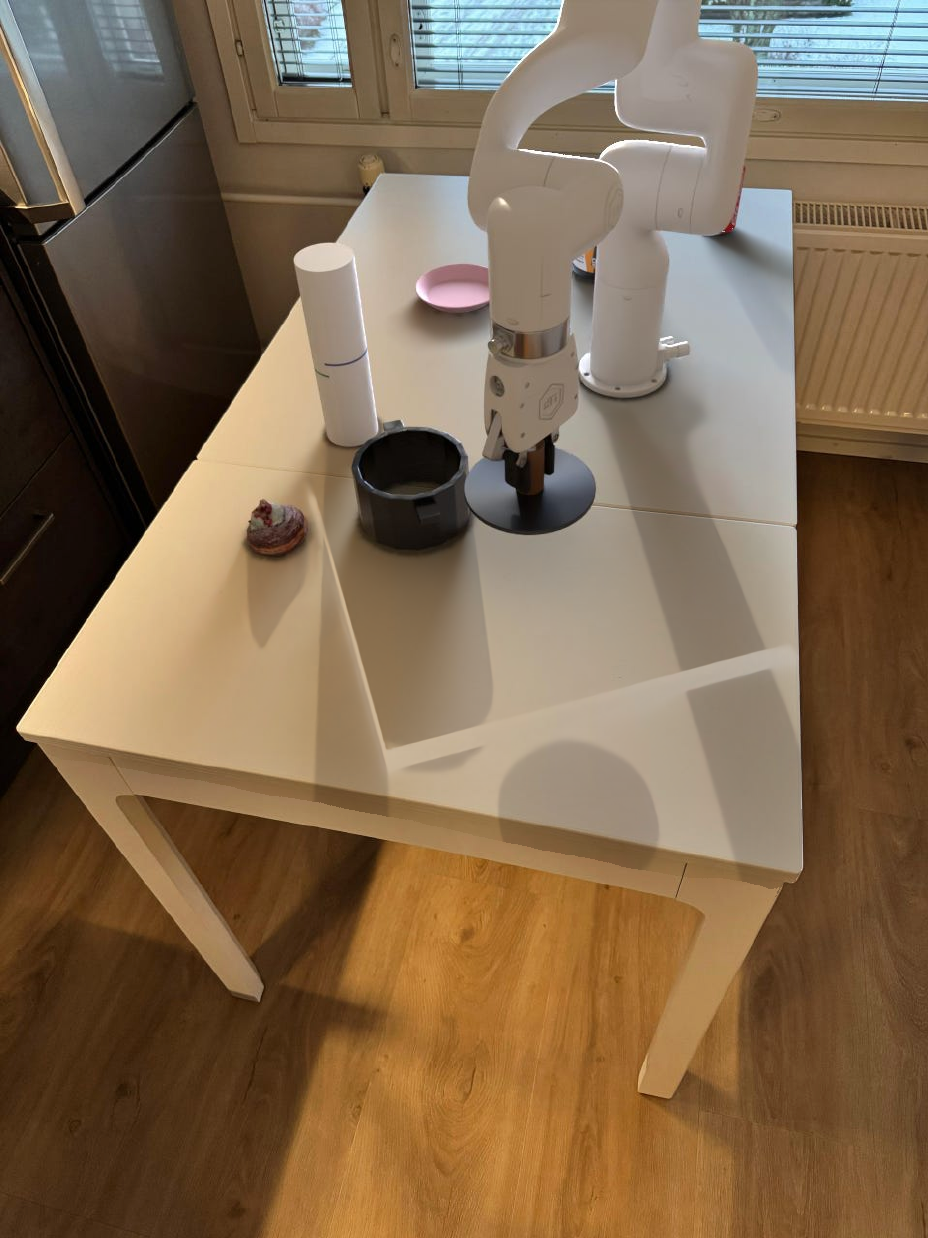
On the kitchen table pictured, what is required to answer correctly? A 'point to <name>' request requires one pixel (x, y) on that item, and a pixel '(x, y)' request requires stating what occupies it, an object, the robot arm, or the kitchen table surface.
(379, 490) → the pot
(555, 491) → the lid
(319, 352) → the cylindrical container
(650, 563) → the kitchen table surface
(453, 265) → the plate
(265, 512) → the pastry
